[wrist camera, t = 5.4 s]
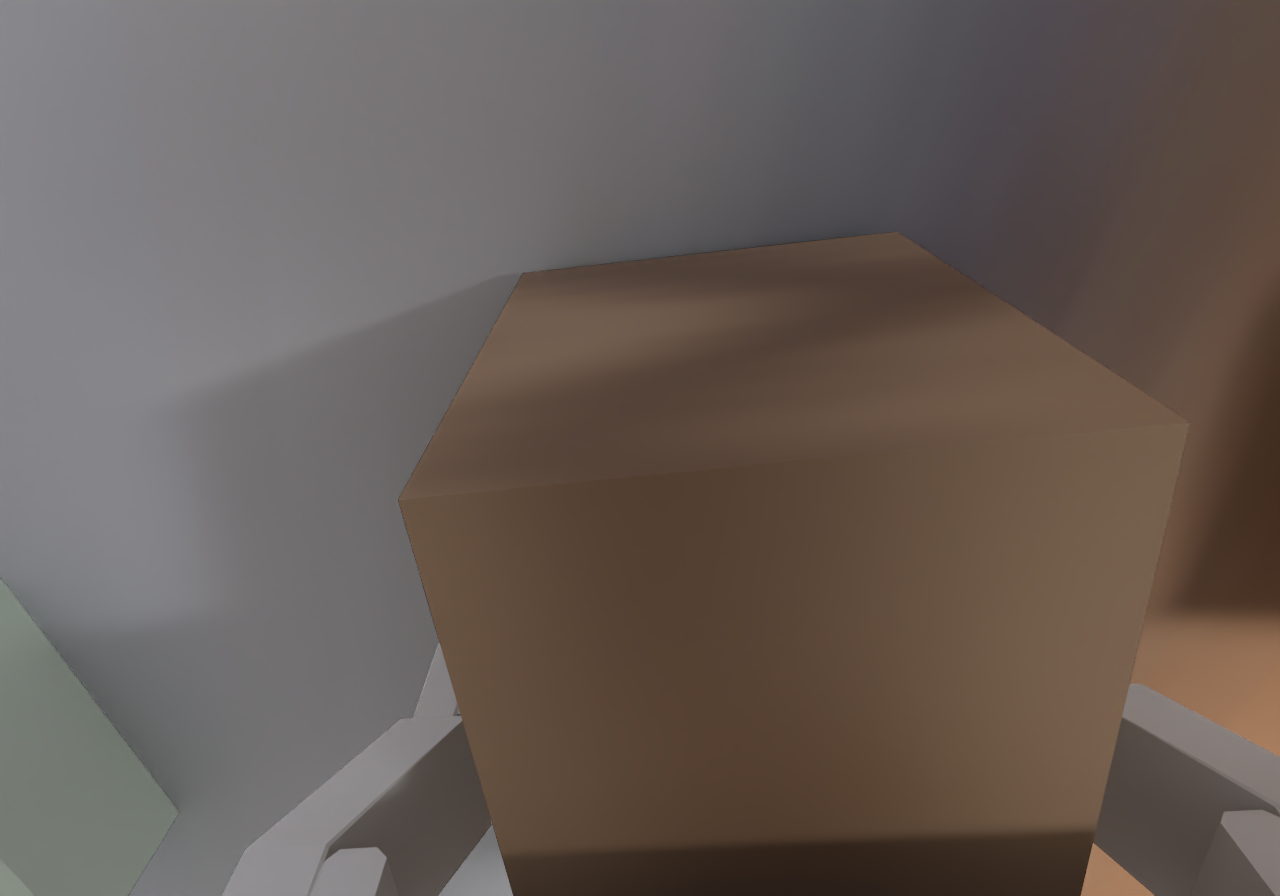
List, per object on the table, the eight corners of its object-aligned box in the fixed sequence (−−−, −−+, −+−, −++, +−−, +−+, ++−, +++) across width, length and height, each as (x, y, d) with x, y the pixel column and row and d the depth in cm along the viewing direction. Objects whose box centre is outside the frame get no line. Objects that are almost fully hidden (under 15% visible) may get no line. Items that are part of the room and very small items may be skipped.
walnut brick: (897, 231, 10) (1189, 422, 5) (876, 766, 15) (1015, 1176, 9) (522, 273, 10) (397, 500, 5) (614, 786, 15) (601, 1197, 9)
